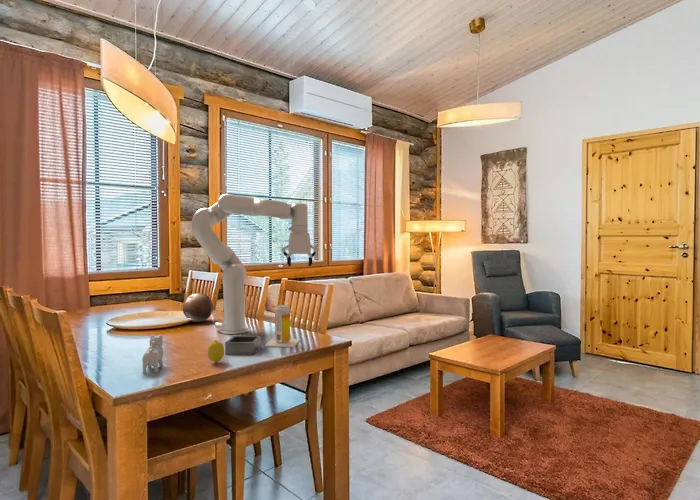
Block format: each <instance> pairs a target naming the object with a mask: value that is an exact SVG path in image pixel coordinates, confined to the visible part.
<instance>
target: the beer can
mask: <svg viewBox="0 0 700 500" xmlns="http://www.w3.org/2000/svg"><path fill="white" fill-rule="evenodd" d="M274 328H275V329H274V332H275V334H274V335H275V338H274V339H275V341H276V342H277V343H288V342H289V341H290V339H291V308H290V305H287V304H280V305H276V306H275V309H274Z"/></svg>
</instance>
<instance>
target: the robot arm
mask: <svg viewBox="0 0 700 500" xmlns="http://www.w3.org/2000/svg"><path fill="white" fill-rule="evenodd" d="M308 212H309V211H308V204H307V203H301V202H300V203H292V204H289V203H287V202H285V201H278V200H271V199H265V198H259V197H251V196H244V195H237V194H231V193H230V194H229V193H224V194H221V195H220V196H219V198H218V199H217V202H215V203H213V205H212V206H210V207H203V208H199V209H198V210H196V211H195V213H194V214H193V215H192V217H191V223H190V224H191V225H190V226H191V231H192V234H193V236H194V238H195V240H197V242H198V244H199V245H200V246H201V248H202V249H203V250H204V253H206V255H207V257H209V259H210V260H211V262H212V263H213V264H214V265H216V266H219V268H220V269H221V270H222V275H221V276H222V288H223V289H222V291H223V321H222V322H215V323H214V326H215V328H220V330H219V331H220V334H224V335H239V334H244V333H248V331H249V328H248V327H246V315H245V313H246V311H245V309H246V302H245V298H246V297H245V296H246V295H245V294H246V293H245V278H246V276H247V269H246V266H245V265H244V263H242V261H241V260H240V258H239V257H238V256H237V255H236V253H235V252H234V251H233V249H232V248H231V247H230V246H228V245H227V244H224V243H223V242H222V240H220V237H219V236H218V235H217V233H216V232H215V231H214V230H213V228H212V227H215V226H216V225H218V224H219V223H221V222H222V221H224V220H226V219H227V218H228V217H229V216H231V215H232V214H237V215H243V216H249V217H250V216H251V217H257V216H258V217H259V216H261V217H270V218H276V219H280V220H288V219H289V220H291V226H290V227H289V226H288V231H291V232H289V234H288V235H289V237H288V245H285V246H284V247H282V248H281V252H282V253H283V255H284V256H285V257H286V265H288V267H291V266H292V258H291V256H292V255H307V256H308V267H312V265H313V258H314V256H316V254H317V253H318V250H319V247H316V246H314V245H312V244H311V238H310V237H311V236H310V233H309V230H308V229H309V228H308V226H309V225H308V217H309V216H308ZM287 249H288V250H287ZM286 250H287V251H288V252H287V251H286ZM311 250H313V253H311Z"/></svg>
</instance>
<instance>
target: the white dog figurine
mask: <svg viewBox="0 0 700 500" xmlns="http://www.w3.org/2000/svg"><path fill="white" fill-rule="evenodd" d="M149 338H150V339H149V347H148V348H147V349H146V351H145V352H144V354H143V356H142V360H141V361H142V374H146V373H147V368H152V367H153V368H154V369H153V370H154V371H153V372H154V373H159V367H160V368H162V367H164V361H163V357H164V349H163V343H164V340H163V335H162V334H159V335H158V336H156V335H155V334H152V335H151V336H150V337H149Z"/></svg>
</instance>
